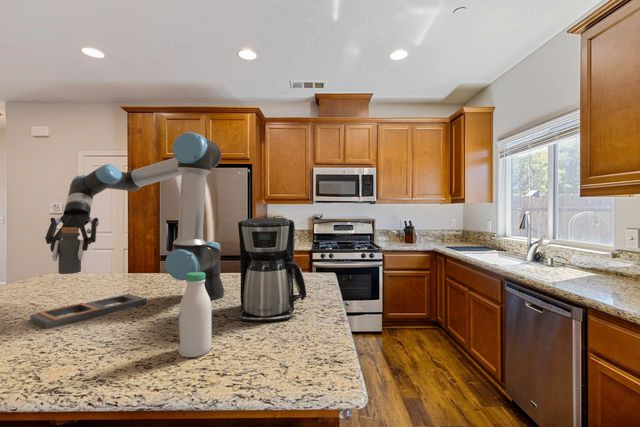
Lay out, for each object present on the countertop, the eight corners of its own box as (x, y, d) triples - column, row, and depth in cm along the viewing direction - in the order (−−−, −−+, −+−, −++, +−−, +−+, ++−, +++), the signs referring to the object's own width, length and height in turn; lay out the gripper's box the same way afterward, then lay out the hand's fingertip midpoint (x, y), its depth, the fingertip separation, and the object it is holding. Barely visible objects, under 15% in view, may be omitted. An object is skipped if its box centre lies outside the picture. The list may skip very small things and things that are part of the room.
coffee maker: (245, 328, 93) (246, 218, 93) (223, 301, 121) (223, 217, 121) (311, 316, 104) (311, 218, 104) (276, 294, 132) (277, 217, 132)
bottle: (67, 270, 104) (67, 227, 104) (85, 270, 105) (85, 227, 105) (53, 274, 98) (54, 228, 98) (72, 274, 99) (73, 228, 99)
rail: (146, 303, 117) (146, 297, 117) (46, 329, 91) (46, 321, 91) (128, 298, 124) (128, 293, 124) (30, 320, 98) (30, 313, 98)
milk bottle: (217, 348, 79) (218, 271, 79) (194, 361, 72) (194, 277, 72) (196, 342, 83) (196, 269, 83) (171, 354, 76) (172, 274, 76)
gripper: (109, 215, 120) (103, 262, 105) (47, 215, 110) (31, 267, 96) (108, 201, 115) (101, 249, 101) (42, 200, 106) (25, 252, 91)
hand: (67, 257), depth 98 cm, fingers closed on bottle, 6 cm apart
